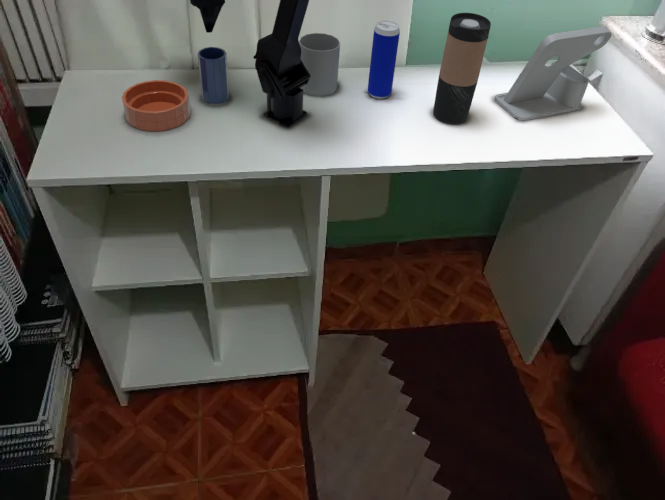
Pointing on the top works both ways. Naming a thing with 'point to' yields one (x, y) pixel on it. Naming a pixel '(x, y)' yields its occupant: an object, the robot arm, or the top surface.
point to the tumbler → (213, 75)
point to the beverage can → (383, 59)
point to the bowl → (156, 105)
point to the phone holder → (553, 75)
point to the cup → (320, 62)
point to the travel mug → (460, 67)
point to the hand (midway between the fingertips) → (207, 21)
